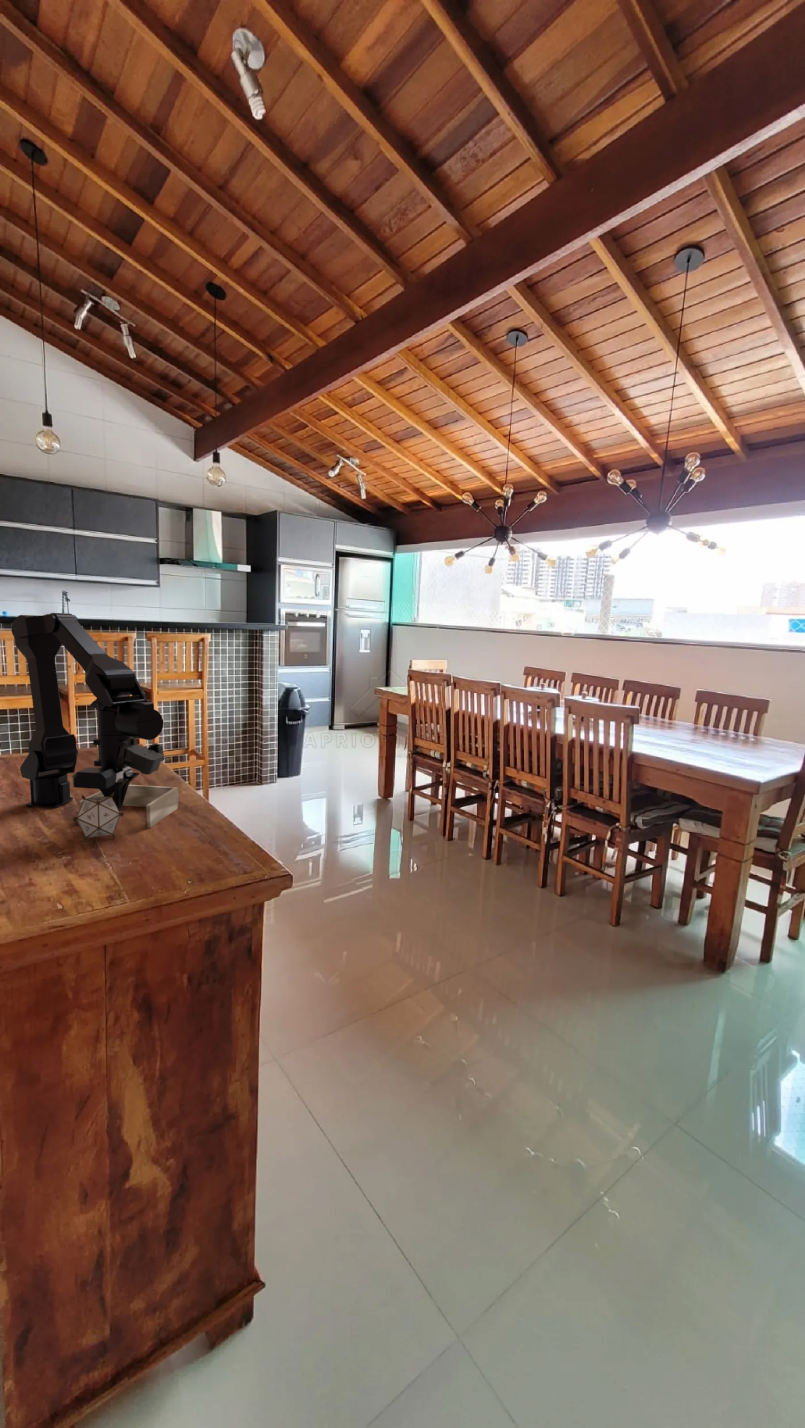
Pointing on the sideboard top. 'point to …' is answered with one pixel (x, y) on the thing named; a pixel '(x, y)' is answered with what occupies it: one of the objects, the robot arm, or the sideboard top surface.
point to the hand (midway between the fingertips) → (117, 811)
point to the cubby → (149, 801)
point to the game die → (98, 816)
